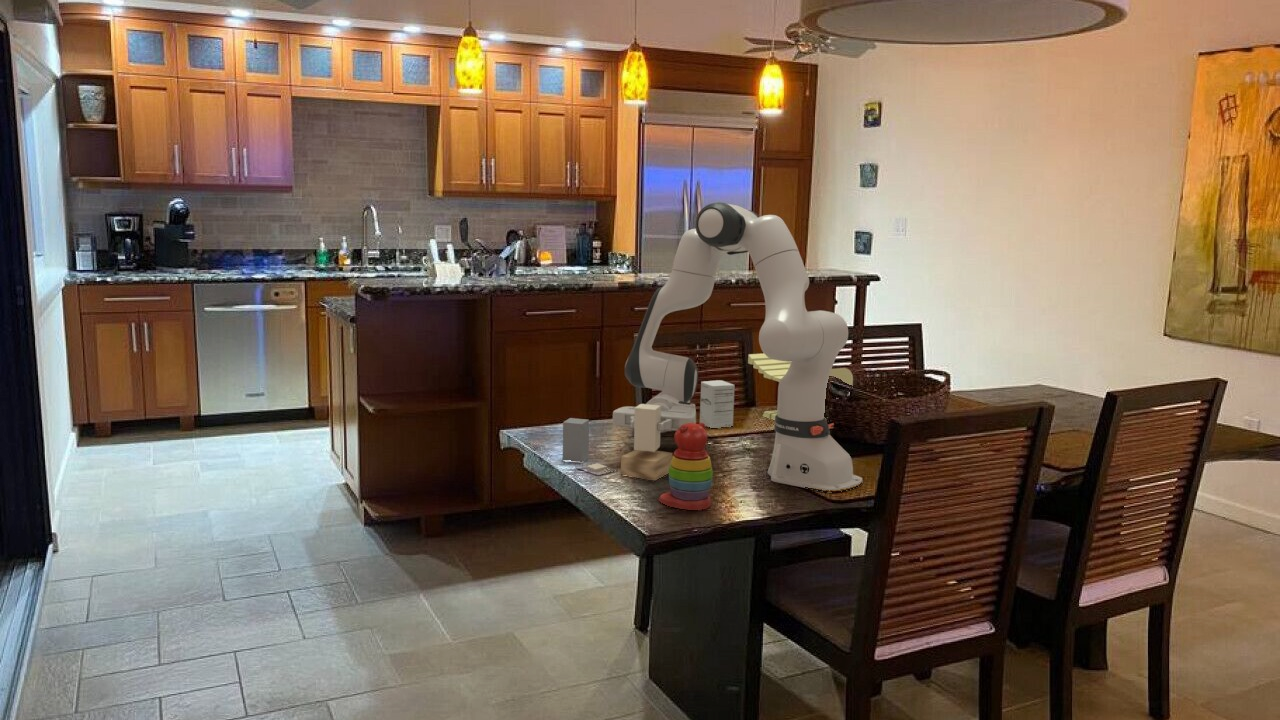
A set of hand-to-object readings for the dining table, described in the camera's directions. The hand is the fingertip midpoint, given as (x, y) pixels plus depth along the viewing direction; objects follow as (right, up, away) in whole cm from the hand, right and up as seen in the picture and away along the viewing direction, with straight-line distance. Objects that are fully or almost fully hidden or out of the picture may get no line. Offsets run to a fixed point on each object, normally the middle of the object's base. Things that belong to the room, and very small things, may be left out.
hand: (646, 426), depth 224 cm
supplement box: (+20, -4, +53) cm, 57 cm away
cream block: (0, -5, +2) cm, 6 cm away
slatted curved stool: (+45, -2, +63) cm, 78 cm away
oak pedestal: (0, -12, +3) cm, 12 cm away
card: (-12, -11, +5) cm, 17 cm away
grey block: (-18, -9, +13) cm, 24 cm away
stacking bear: (+9, -16, -19) cm, 26 cm away
